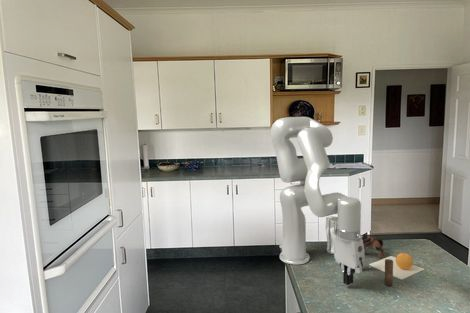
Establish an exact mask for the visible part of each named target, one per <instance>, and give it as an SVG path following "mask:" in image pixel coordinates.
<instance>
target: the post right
mask: <svg viewBox="0 0 470 313" xmlns="http://www.w3.org/2000/svg"><path fill="white" fill-rule="evenodd" d="M393 279H394V276H393V260H390V259H386V260H385V272H384V280H383V281H384V286H386V287H389V288H391V287H393Z"/></svg>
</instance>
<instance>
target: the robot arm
mask: <svg viewBox="0 0 470 313" xmlns="http://www.w3.org/2000/svg"><path fill="white" fill-rule="evenodd" d="M270 137H271V138H270V139H271V143H272V145H273V147H274V148H273V149H274V150H275V151H274V152H275V155H276V156H275V157H276V161H277V166H278V168H277V169H278V172H279V177H280V180H281V181H282V182H284V183H287V184H288V183H295V182H299V183H300V184H294V185H289V186H285V187H284V188H283V189H281V191H280V193H279V201H280V206H281V212H282V214H281V215H282V243H281V244H279V249H281V252H280V254H279V259H280V260H281V261H282V262H283V263H285V264H289V265H303V264H306V263H308V262H309V261H310V260H311V257H310V255H309V253H308V252H307V247H306V246H307V245H306V244H307V243H306V242H307V239H306V238H307V237H306V233H307V232H306V229H307V228H306V226H307V225H306V215H305V214H304V212H303V210H302V208H304V207H309V209H310V211H311V212H312V214H313V215H314V216H315V217H318V218H327V217H330V216H333V215H337V217H338V222H337V235H336V239H335V247H334V254H333V256H334V257H333V258H334V259H335V262H336V263H337V264H338V265H339V266H340V269H341V272H342V273H343V275H342V276H343V278H342V282H343V284H344V285H346V286H349V285H352V284H353V283H354V274H355V273H356V274H362V273H363V267H365V266H366V258H365V257H366V255H365V254H366V252H365V251H364V245H363V240H364V239H363V237H364V236H363V234H361V224H362V223H361V220H362V218H361V215H362V203H361V200H360V199H358V198H356V197H351V196H350V197H349V196H347V195H345V194H343V193H342V192H341V193H340V192H331V193H326V194H322V192H321V187H320V180H321V176H322V175H323V173H324V172H325V171H326V170H328V168H329V167H330V166H331V165H330V164H331V162H330V160H329V157H328V155H327V151H326V148H329V147H330V146H331V145H332V143H333V140H334V139H333V138H334V137H333V133H332V131H331V130H330V129H329V127H327V126H326V125H324V124H322V123H320V122H318V121H317V120H314V119H313V118H311V117H309V116H288V117H282V118H278V119H277V120H275V121H274V122H273V124H272V126H271V129H270ZM295 138H297V142H298V146H299V148H300V149H299V150H300V152H301V154H302V158H298V155H297V149H296V147H295V144H294V143H293V142H292V141H291V140H290V139H295ZM361 266H362V267H361Z"/></svg>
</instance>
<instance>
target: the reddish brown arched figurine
mask: <svg viewBox="0 0 470 313" xmlns="http://www.w3.org/2000/svg"><path fill="white" fill-rule="evenodd" d="M362 240H363V245H364V252H365V253H367V249H369V250H374V247H375V250H377V251H380V252H379V253H377V255H378V258H379V260H382V259H383V258H384V256H385V254H384V250H383V246H384V240H383V238H381V237H376V238H374V237H370V236H369V237H367V238H364V239H362ZM373 246H374V247H373Z"/></svg>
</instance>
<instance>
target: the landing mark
mask: <svg viewBox="0 0 470 313" xmlns="http://www.w3.org/2000/svg"><path fill="white" fill-rule="evenodd" d="M386 259H390V260H393V277H395V278H397V279H399V280H405V279H406V278H409V277H411V276H413V275H416V274H418V273H420V272H423V271H424V270H425V269H424V268H422V267H419V266H417V265H414V264H413V265H412V267H411V268H409V269H402V268H400V267H399V266H398V265H397V263H396V257H395V256H392V255H390V256H387V257H383V258H381V259H379V260H377V261H375V262H372V263H369V264H368V265H369V266H371V267H373V268H375V269H377V270H380V271H381V272H384V273H385V260H386Z"/></svg>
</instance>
